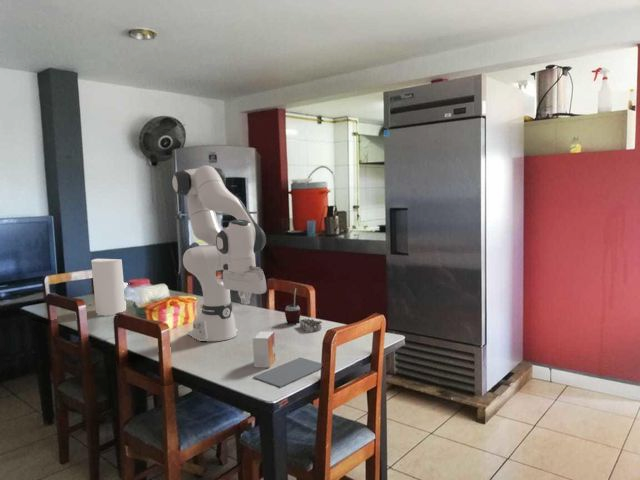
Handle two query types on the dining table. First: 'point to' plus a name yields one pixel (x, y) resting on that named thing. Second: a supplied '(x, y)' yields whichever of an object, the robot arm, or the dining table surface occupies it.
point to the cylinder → (108, 286)
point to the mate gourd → (293, 313)
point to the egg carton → (310, 325)
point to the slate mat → (289, 372)
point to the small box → (264, 349)
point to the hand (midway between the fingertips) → (245, 303)
